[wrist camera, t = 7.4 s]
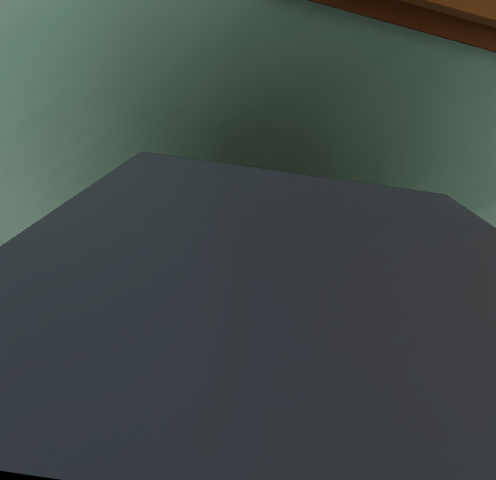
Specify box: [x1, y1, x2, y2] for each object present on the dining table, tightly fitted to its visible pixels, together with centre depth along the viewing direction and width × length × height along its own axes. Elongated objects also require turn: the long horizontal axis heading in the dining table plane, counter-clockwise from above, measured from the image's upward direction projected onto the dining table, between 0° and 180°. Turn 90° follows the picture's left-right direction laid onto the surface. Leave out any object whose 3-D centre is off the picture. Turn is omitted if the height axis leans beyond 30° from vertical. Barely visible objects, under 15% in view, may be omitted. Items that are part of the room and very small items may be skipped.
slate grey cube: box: [0, 152, 496, 480], centre depth 7 cm, size 8×8×9 cm
